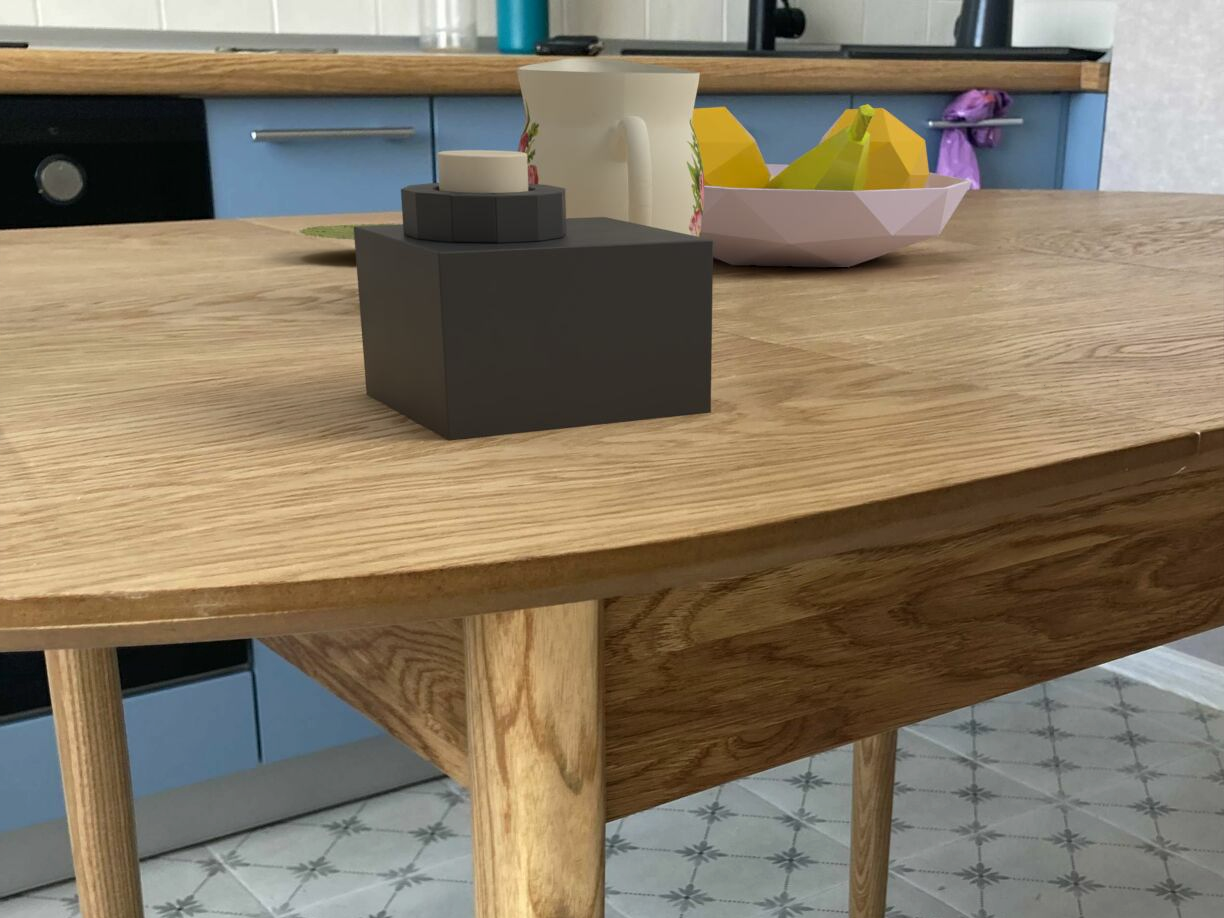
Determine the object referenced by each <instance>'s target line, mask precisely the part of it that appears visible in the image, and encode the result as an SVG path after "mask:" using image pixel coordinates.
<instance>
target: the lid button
mask: <svg viewBox="0 0 1224 918" xmlns="http://www.w3.org/2000/svg"><path fill="white" fill-rule="evenodd" d="M437 171H438V172H437V173H438V183H439V191H451V192H467V193H505V192H524V191H528V163H527V154H526V153H523V152H518V151H513V150H494V149H493V150H492V149H491V150H487V149H462V150H461V149H460V150H459V149H458V150H457V149H456V150H443V151H438V152H437Z"/></svg>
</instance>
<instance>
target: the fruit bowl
mask: <svg viewBox="0 0 1224 918" xmlns="http://www.w3.org/2000/svg"><path fill="white" fill-rule="evenodd" d="M692 124H693V128H694V131H695V134H696V138H697V141H698V144H699V149H700V153H701V157H702V163H703V170H704V205H703V216H702V223H701V229H700V234H699V237H702V238H707V239H712V240H713V259H716V260H719V261H722V262H723V263H726V264H728V265H731V266H747V267H748V266H750V265H756V266H755V267H787V266H792V268H795V267H796V268H826V267H848V268H850V266H851V267H854V266H856V265H859V264H861V263H865V262H868V261H870V260H873V259H875V258H879V257H882V256H885V255H887V254H891V253H893V252H896V251H898V250H901V249H905V248H907V247H910V246H913V245H916V244H918V243H920V242H924V241H926V240H930V239H932V238H936V237H938V236H940V234H941V233H942V231H943V230H944V229H945V226H946V225H947V223H948V221H949V220H950V218H951V217H952V216H953V214H954V212H955V210H956V209H957V208H958V206H959V204H960V203H961V201H962V199H963V198H964V196H965V195H966V193H967V192H968V190H969V188H970V187H971V186H972V184H973V182H974V180H972V179H965V178H960V177H955V176H950V175H946V174H945V175H944V174H939V173H934V172H930V169H929V162H928V153H927V145H926V140H925V139H924V137H922V136H920V135H919V134H918V133H916V132H915V131H914V130H912V129H911V128H910V127H909V126H907V125H906V124H904V122H902V121H901V120H899V119H898V118H897V117H896V116H894V115H893V114H892V113H890V112H889V111H888V110H886V108H883V107H872V105H870V104H868V103H867V104H863V105H860V106H859V107H858V108H846V109H845V110H844V111H843V112H842V114H841V115H840V116H839V117H838V118H837V119H836V121H835V122H834V123H833V124H832V125H831V127H830V128H829V129H828V130H827V131H826V132H825V134H824V135H823V136H822V137H821V139H820V141H819V143H818V145H816V146H815V147H813V148H812V149H811V150H809V151H807V152H806V153H804V154H803V155H801V156H800V157H798V158H797V159H795V160H793V161H792V162H791V163H789V164H776V163H775V164H773V163H771V164H770V163H766V162H765V160H764V159H765V158H764V157H763V154H762V152H761V150H760V148H759V145H758V143H757V140H756V139H755V138H754V136H753V135H752V134H751V133H750V132H749V131H748V129H746V127H745V126H743V124H742V123H741V122H740V121H739V120H738V119H737V118H736V117H735V116H734V115H733V114H732V112H731V111H730V110H728V109H727V107H726V106H713V107H712V106H711V107H699V108H694V110H693V118H692Z"/></svg>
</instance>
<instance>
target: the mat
mask: <svg viewBox="0 0 1224 918" xmlns="http://www.w3.org/2000/svg"><path fill="white" fill-rule="evenodd" d="M400 224H401V223H361V224H356V223H355V224H344V225H343V224H342V225H341V224H340V225H317V226H311V227H307V228H304V229H300V230H299V233H300V234H302V235H303V234H304V235H305V236H306V237H307V236H310V237H314V238H315V237H318V238H327V239H335V240H340V239H341V240H354V241H355V238H354V227H355V226H373V225H400Z"/></svg>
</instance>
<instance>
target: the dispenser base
mask: <svg viewBox="0 0 1224 918" xmlns="http://www.w3.org/2000/svg"><path fill="white" fill-rule="evenodd" d="M400 197H401V198H400V199H401V213H402V223H399V224H400V225H373V226H355V227H354V238H355V240H354V249H355V250H354V251H355V263H356V274H357V286H358V287H357V289H358V290H357V291H358V301H359V302H358V304H359V312H360V313H359V314H360V326H361V327H360V328H361V341H362V353H363V366H364V379H365V391H366V395H367V396H368V397H369V398H372V399H373V400H374V401H377V402H379V403H381V404H383V405H384V406H386V407H387V408H390V409H391V410H393V411H395V412H397V413H399V414H401V415H402V416H404V417H406V418H407V419H409V420H411V421H413V422H414V423H416V424H419V425H420V426H422V427H424V428H425V429H427V430H429V431H431V432H433V433H434V434H436V435H437V436H439V437H442V438H443V439H445V440H447V441H451V442H452V441H461V440H470V439H480V438H489V437H496V436H505V435H506V436H509V435H516V434H517V435H518V434H525V433H526V434H527V433H534V432H544V431H545V432H546V431H553V430H563V429H571V428H581V427H591V426H601V425H611V424H618V423H627V422H628V423H629V422H636V421H637V422H638V421H648V420H657V419H665V418H674V417H683V416H693V415H702V414H711V413H712V362H713V361H712V360H713V359H712V357H713V356H712V353H713V351H712V349H713V347H712V346H713V289H714V288H713V286H714V284H713V283H714V282H713V280H714V279H713V278H714V276H713V275H714V268H713V267H714V257H713V240H712V239H707V238H702V237H698V236H693V235H688V234H683V233H679V232H674V231H669V230H664V229H660V228H655V227H650V226H645V225H640V224H636V223H631V222H626V221H621V220H617V219H612V218H607V217H590V218H566V198H565V189H564V188H561V187H555V186H550V185H541V184H528V191H524V192H505V193H467V192H451V191H439V182H432V183H431V182H430V183H421V184H420V183H419V184H410V185H407V186H405V187H403V188H400Z"/></svg>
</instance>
